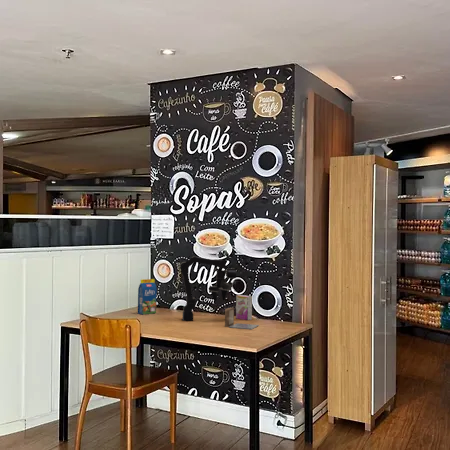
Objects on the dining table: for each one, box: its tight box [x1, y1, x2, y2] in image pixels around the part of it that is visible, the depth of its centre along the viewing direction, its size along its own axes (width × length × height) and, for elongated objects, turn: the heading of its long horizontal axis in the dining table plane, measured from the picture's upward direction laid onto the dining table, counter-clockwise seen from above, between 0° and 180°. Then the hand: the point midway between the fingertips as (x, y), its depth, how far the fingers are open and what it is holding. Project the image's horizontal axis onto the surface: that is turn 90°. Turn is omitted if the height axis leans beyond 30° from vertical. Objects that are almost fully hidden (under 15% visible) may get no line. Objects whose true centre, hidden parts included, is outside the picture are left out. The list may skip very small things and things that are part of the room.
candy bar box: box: [235, 294, 253, 321], centre depth 398 cm, size 11×5×16 cm, turn 47°
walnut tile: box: [224, 307, 235, 328], centre depth 369 cm, size 3×10×11 cm, turn 159°
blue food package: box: [137, 278, 158, 315], centre depth 416 cm, size 6×12×25 cm, turn 130°
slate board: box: [228, 323, 260, 330], centre depth 365 cm, size 15×16×1 cm
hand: (219, 300), depth 389 cm, fingers open, 9 cm apart
